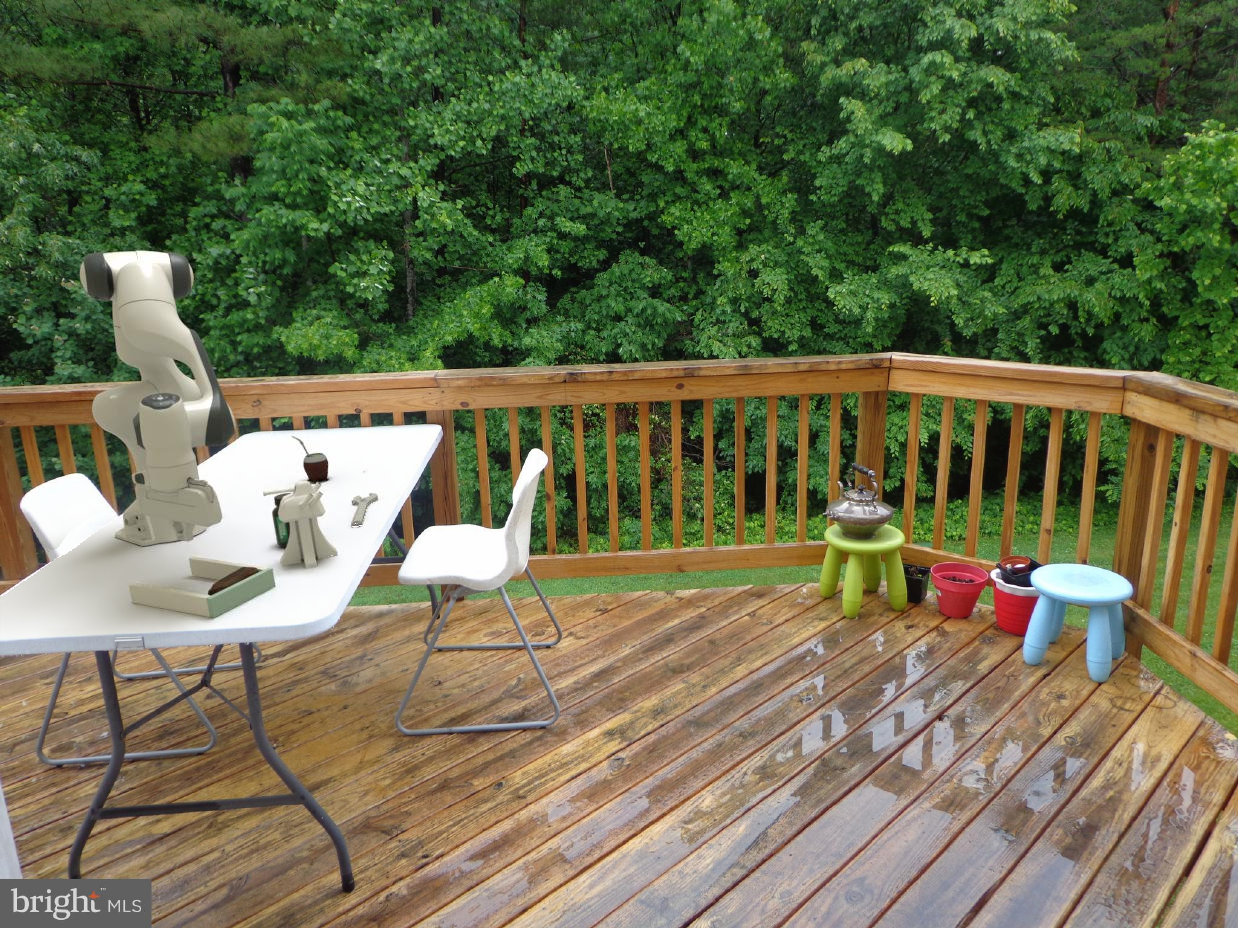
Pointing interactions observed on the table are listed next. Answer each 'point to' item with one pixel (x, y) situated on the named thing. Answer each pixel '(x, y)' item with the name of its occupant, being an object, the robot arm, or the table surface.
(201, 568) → the bay
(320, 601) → the table surface
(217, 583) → the brick
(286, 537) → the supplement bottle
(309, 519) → the toy gun turret
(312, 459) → the mate gourd
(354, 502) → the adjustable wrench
